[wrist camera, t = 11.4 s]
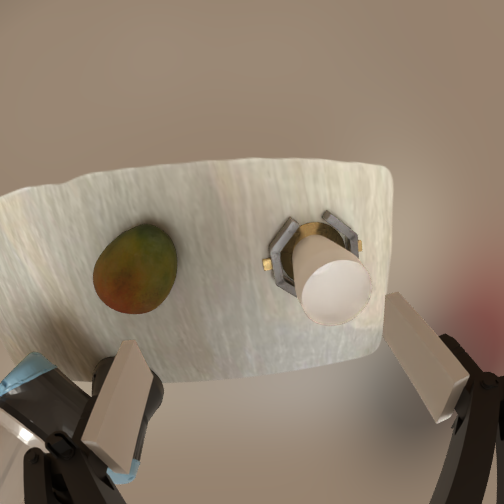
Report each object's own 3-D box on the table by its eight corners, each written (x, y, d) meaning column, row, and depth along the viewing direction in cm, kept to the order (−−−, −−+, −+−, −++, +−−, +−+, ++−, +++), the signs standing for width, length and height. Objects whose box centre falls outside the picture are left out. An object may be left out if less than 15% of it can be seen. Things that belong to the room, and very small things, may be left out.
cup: (281, 281, 45) (295, 327, 34) (287, 224, 42) (305, 257, 31) (336, 282, 46) (363, 325, 35) (346, 228, 42) (380, 259, 31)
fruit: (104, 277, 44) (78, 309, 34) (118, 205, 40) (88, 224, 30) (170, 301, 46) (156, 339, 36) (191, 230, 42) (179, 256, 32)
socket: (270, 300, 46) (271, 307, 44) (255, 223, 42) (256, 227, 40) (361, 280, 46) (366, 287, 44) (357, 205, 41) (363, 208, 39)
